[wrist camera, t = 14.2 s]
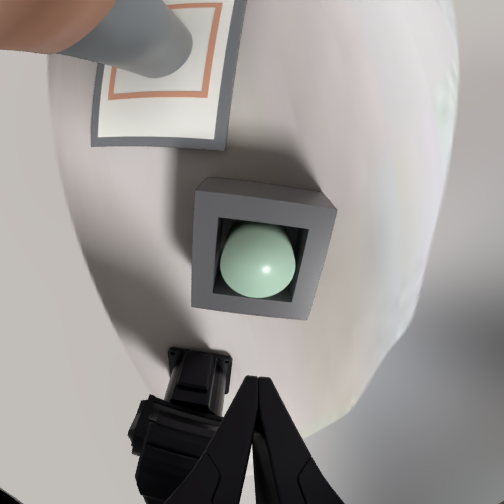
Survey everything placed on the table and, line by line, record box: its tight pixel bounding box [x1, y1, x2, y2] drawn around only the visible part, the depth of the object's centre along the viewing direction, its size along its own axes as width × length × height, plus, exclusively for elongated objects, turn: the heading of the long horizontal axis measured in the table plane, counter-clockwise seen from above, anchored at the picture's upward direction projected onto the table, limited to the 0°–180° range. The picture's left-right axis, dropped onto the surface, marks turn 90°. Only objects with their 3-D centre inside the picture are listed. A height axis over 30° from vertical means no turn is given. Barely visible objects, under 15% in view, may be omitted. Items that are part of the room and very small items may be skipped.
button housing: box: [191, 177, 337, 320], centre depth 18 cm, size 8×8×4 cm
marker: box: [0, 0, 193, 78], centre depth 7 cm, size 5×5×13 cm
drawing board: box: [91, 0, 247, 151], centre depth 14 cm, size 14×10×1 cm
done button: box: [220, 220, 295, 298], centre depth 17 cm, size 4×4×3 cm
